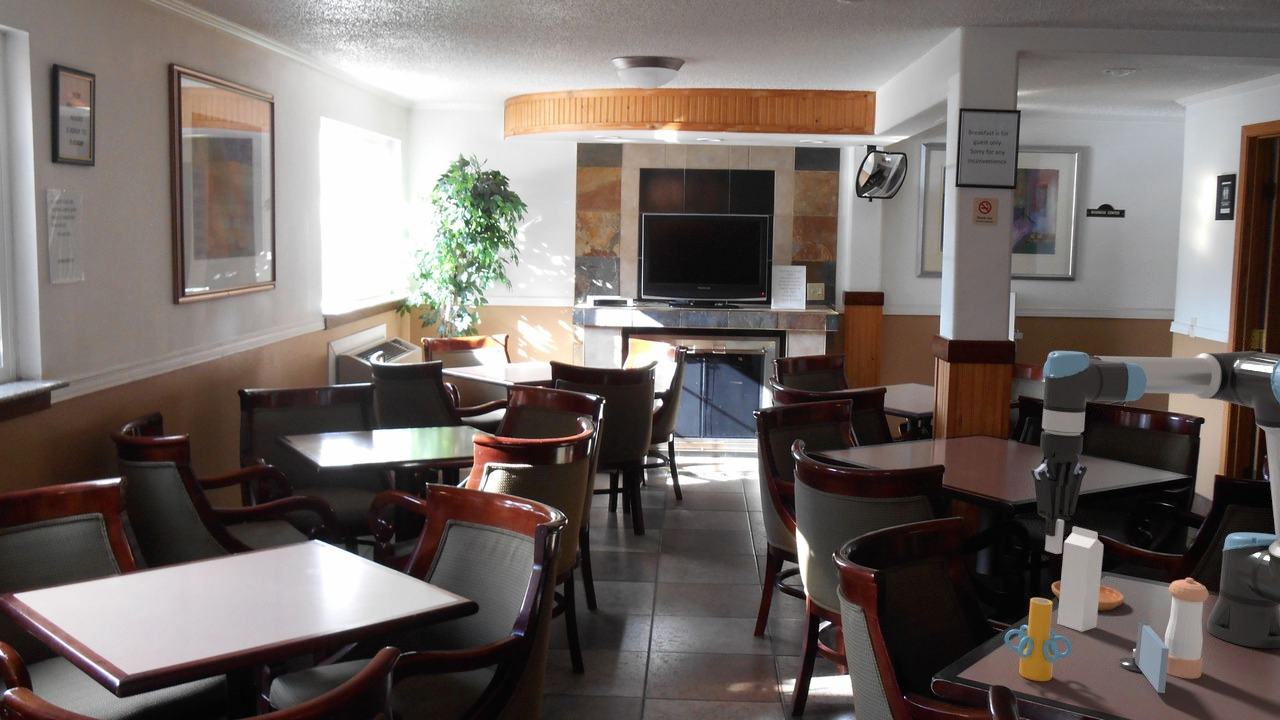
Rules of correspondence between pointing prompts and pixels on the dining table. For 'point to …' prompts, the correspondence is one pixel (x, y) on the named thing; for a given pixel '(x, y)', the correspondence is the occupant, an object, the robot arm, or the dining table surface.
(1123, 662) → the shiny grey rounded piece
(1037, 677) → the tube with blue loops
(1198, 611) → the pepper shaker
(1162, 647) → the light blue rectangular panel
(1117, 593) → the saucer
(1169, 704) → the dining table surface
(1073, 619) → the milk
